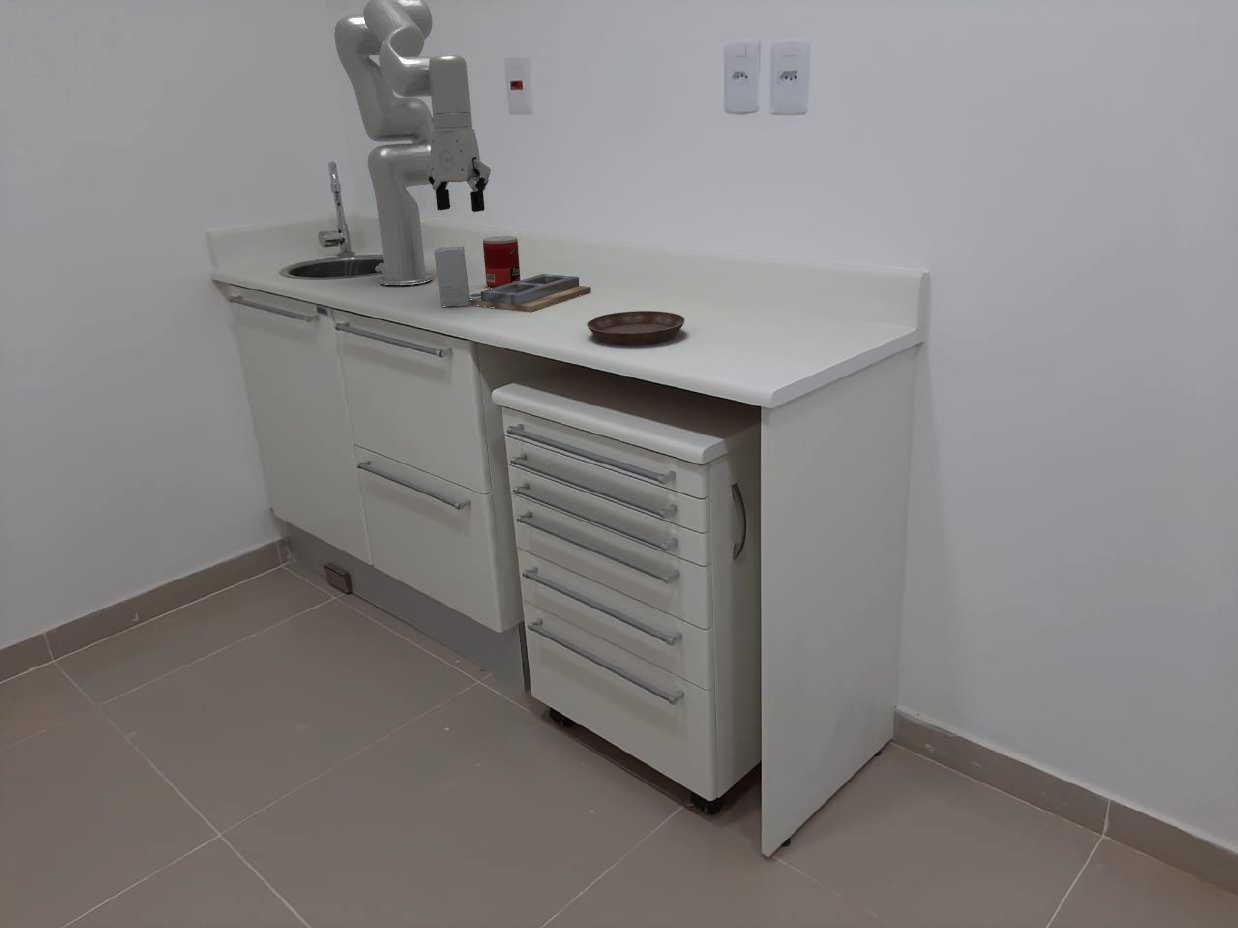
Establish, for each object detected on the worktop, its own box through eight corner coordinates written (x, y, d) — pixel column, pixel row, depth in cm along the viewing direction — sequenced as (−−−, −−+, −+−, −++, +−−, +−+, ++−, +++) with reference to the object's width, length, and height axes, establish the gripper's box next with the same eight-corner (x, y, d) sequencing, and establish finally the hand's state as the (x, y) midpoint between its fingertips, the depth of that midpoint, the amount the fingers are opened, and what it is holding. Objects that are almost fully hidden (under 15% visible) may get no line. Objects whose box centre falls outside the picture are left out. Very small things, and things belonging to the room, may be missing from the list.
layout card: (456, 299, 212) (456, 295, 212) (485, 290, 220) (485, 287, 220) (481, 301, 209) (480, 298, 208) (509, 293, 216) (509, 289, 216)
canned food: (519, 289, 221) (515, 240, 217) (484, 290, 221) (480, 241, 217) (522, 282, 228) (519, 235, 224) (489, 283, 228) (485, 236, 224)
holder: (470, 305, 205) (469, 290, 204) (533, 287, 222) (532, 273, 221) (530, 312, 197) (529, 296, 196) (590, 292, 214) (590, 278, 213)
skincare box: (470, 302, 208) (465, 245, 204) (469, 307, 204) (464, 249, 200) (441, 304, 208) (436, 247, 204) (440, 308, 204) (434, 250, 199)
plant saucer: (567, 340, 175) (566, 324, 174) (630, 321, 187) (629, 306, 186) (642, 354, 164) (642, 337, 163) (704, 333, 177) (704, 317, 175)
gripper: (408, 124, 195) (418, 211, 201) (471, 123, 186) (479, 214, 192) (435, 122, 201) (443, 207, 207) (497, 121, 191) (504, 209, 197)
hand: (460, 210), depth 199 cm, fingers open, 9 cm apart
